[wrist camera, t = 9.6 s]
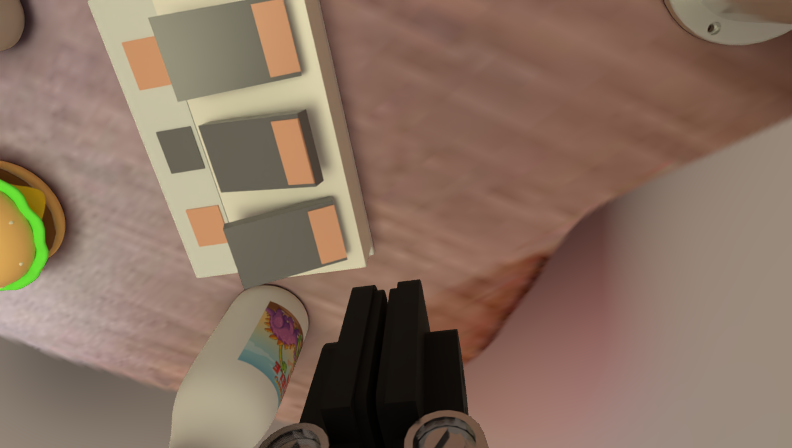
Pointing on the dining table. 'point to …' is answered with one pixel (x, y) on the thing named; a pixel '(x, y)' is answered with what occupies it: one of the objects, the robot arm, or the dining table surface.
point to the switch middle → (263, 152)
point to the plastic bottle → (10, 23)
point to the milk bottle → (241, 372)
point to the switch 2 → (285, 242)
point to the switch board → (169, 117)
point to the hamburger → (26, 226)
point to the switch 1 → (226, 47)
